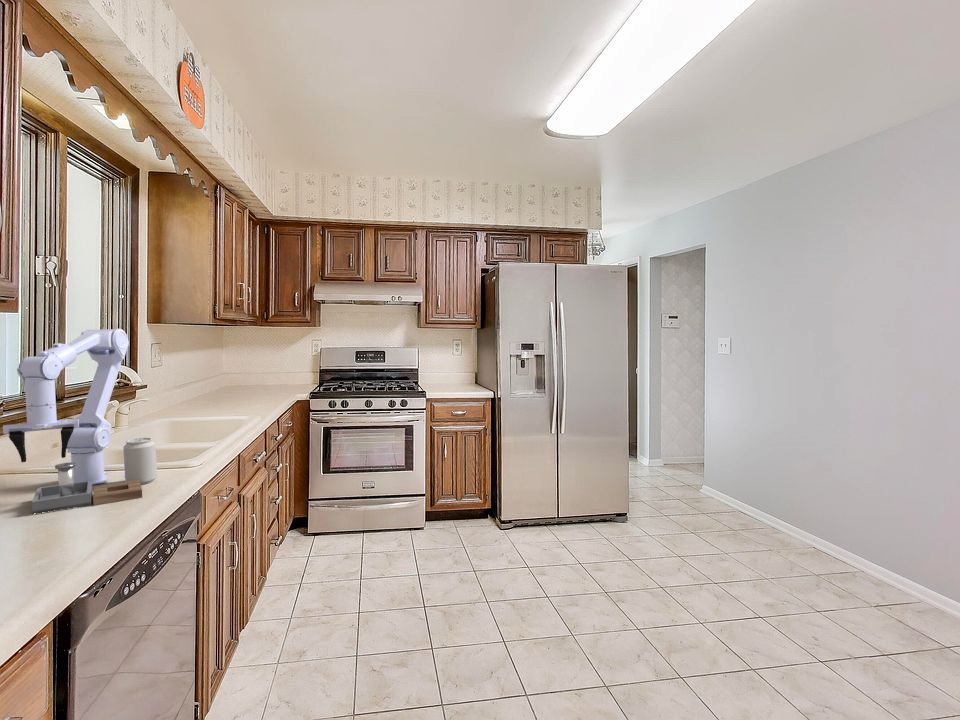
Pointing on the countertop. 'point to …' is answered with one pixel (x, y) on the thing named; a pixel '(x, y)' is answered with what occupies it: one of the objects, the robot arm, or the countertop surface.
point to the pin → (66, 479)
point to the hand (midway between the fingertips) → (44, 459)
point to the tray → (61, 498)
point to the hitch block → (117, 492)
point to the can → (140, 460)
